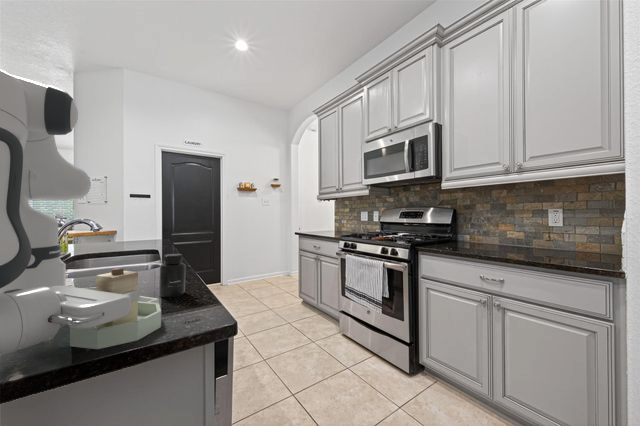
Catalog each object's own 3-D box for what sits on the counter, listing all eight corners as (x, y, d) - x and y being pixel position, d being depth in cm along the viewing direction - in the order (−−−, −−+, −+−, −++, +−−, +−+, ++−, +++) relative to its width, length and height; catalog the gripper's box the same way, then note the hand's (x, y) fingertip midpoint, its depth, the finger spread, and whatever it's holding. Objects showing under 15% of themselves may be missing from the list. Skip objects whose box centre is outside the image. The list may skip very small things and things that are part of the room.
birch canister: (95, 329, 53) (95, 270, 53) (121, 320, 58) (121, 265, 58) (112, 333, 52) (113, 272, 52) (137, 323, 56) (138, 267, 56)
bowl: (79, 326, 57) (79, 310, 57) (157, 312, 65) (157, 298, 65) (65, 356, 45) (65, 336, 45) (162, 334, 54) (163, 317, 54)
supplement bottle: (173, 299, 75) (174, 257, 75) (153, 297, 77) (153, 256, 77) (190, 291, 82) (190, 253, 82) (171, 290, 83) (171, 252, 83)
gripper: (74, 304, 39) (158, 281, 52) (-4, 290, 45) (88, 273, 58) (73, 346, 39) (158, 313, 52) (-4, 326, 45) (88, 301, 58)
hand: (120, 291), depth 55 cm, fingers open, 8 cm apart
